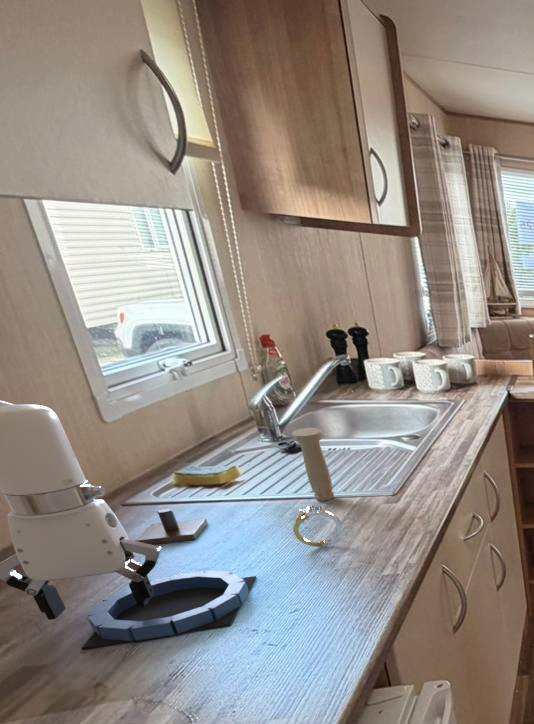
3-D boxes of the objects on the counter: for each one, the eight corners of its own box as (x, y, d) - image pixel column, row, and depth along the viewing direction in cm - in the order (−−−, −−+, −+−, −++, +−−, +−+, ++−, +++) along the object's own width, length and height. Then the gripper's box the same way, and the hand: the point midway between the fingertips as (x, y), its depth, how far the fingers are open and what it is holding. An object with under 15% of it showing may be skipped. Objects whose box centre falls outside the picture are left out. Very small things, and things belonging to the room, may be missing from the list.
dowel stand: (137, 546, 114) (126, 521, 112) (153, 529, 121) (143, 505, 119) (195, 540, 118) (185, 515, 116) (208, 523, 124) (199, 500, 122)
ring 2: (298, 553, 115) (286, 512, 112) (301, 546, 118) (289, 506, 114) (345, 546, 118) (334, 507, 115) (346, 540, 121) (335, 501, 118)
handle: (310, 505, 135) (291, 436, 129) (312, 495, 140) (293, 429, 133) (338, 502, 137) (320, 434, 131) (339, 492, 142) (321, 426, 136)
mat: (82, 650, 87) (81, 647, 87) (128, 595, 100) (127, 593, 100) (231, 625, 94) (230, 623, 94) (256, 578, 107) (255, 575, 106)
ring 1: (71, 651, 86) (65, 638, 85) (122, 593, 100) (117, 582, 99) (231, 625, 93) (227, 613, 92) (258, 574, 107) (254, 564, 106)
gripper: (147, 482, 92) (188, 586, 99) (-26, 496, 85) (32, 607, 92) (126, 500, 86) (172, 609, 93) (-62, 517, 79) (3, 634, 86)
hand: (102, 608), depth 93 cm, fingers open, 9 cm apart
